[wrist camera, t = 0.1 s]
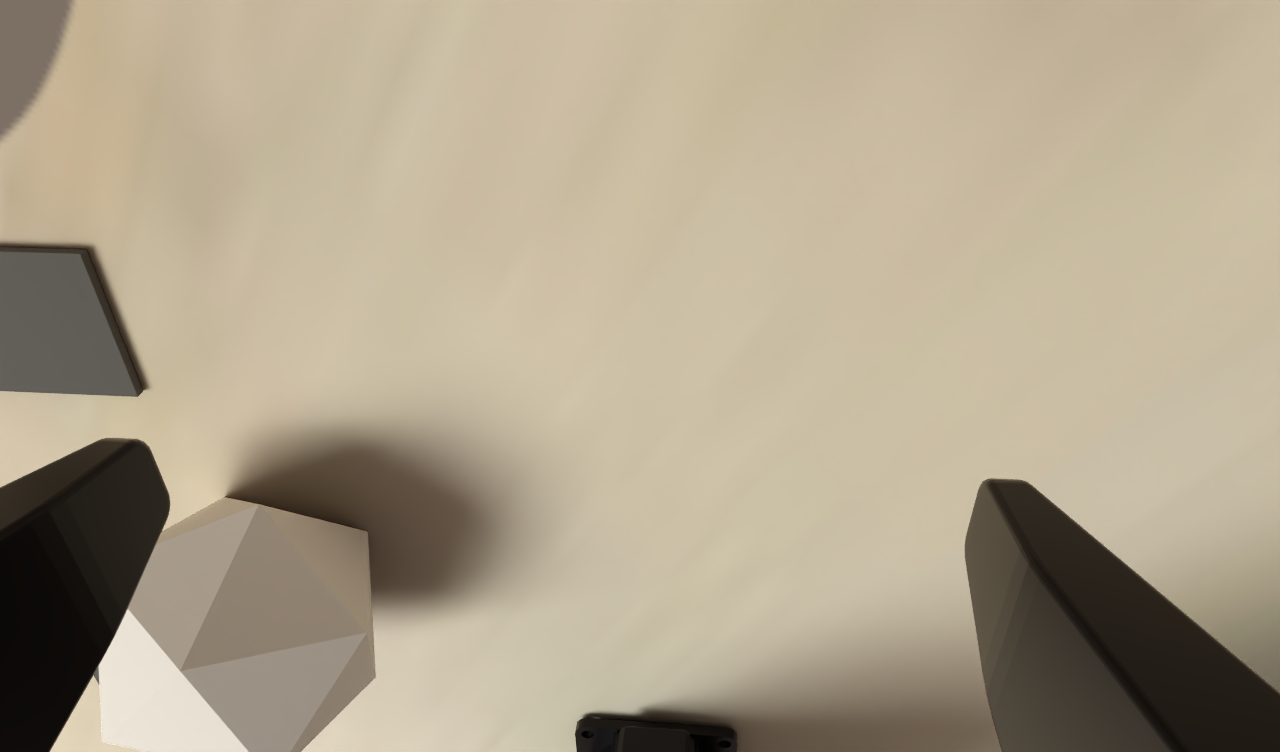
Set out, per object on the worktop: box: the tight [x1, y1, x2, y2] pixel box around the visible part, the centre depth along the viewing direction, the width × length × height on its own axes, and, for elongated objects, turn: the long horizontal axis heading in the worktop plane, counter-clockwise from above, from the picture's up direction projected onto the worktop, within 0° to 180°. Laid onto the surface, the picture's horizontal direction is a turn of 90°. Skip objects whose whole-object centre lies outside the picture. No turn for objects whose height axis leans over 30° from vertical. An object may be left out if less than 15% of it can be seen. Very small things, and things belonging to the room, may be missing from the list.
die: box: [99, 497, 376, 752], centre depth 28 cm, size 8×9×10 cm
